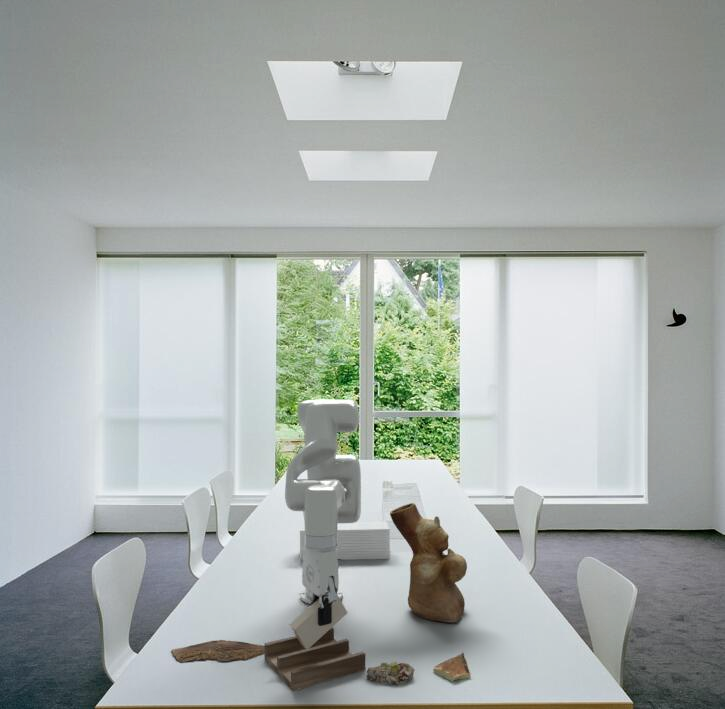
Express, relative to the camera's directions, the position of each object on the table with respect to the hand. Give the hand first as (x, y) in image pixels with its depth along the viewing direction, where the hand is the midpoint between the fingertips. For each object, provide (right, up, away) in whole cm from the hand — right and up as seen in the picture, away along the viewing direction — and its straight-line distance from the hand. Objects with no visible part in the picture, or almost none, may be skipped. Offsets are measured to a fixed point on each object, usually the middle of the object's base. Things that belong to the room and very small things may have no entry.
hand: (321, 620), depth 143 cm
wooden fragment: (-24, -12, +10) cm, 29 cm away
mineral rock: (+16, -12, -2) cm, 20 cm away
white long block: (+3, -13, +86) cm, 87 cm away
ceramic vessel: (+28, -12, +34) cm, 45 cm away
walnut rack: (-2, -11, +3) cm, 12 cm away
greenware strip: (+1, -2, 0) cm, 2 cm away
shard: (+30, -12, +1) cm, 32 cm away
